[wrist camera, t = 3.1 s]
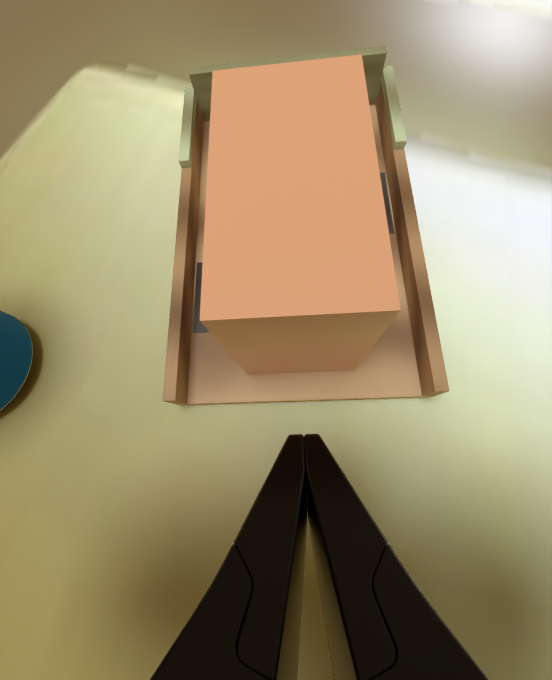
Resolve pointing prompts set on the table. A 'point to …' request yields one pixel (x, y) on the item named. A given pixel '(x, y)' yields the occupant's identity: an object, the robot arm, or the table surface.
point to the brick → (295, 219)
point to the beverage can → (13, 357)
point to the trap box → (409, 264)
